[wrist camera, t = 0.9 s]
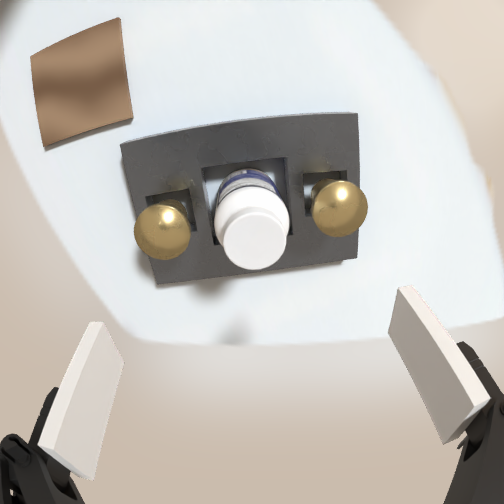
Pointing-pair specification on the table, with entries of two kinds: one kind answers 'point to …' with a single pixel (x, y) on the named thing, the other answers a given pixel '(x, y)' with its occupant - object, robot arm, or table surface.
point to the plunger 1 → (163, 230)
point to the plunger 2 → (338, 207)
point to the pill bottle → (251, 219)
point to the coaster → (81, 83)
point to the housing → (241, 150)
